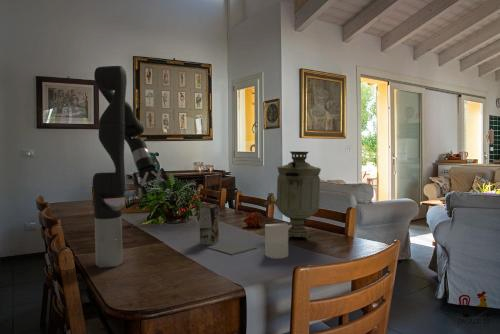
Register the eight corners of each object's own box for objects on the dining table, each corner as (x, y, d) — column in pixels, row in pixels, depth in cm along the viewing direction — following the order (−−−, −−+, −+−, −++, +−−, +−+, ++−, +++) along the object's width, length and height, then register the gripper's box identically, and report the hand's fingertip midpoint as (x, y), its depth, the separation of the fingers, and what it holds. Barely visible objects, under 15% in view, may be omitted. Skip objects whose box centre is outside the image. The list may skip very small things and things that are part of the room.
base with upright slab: (269, 259, 145) (269, 227, 144) (262, 253, 153) (262, 223, 153) (291, 257, 147) (291, 226, 146) (283, 251, 156) (283, 221, 155)
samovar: (281, 228, 200) (281, 151, 198) (330, 233, 187) (330, 151, 185) (252, 240, 174) (251, 151, 173) (306, 247, 161) (306, 151, 159)
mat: (256, 248, 161) (256, 247, 161) (231, 254, 151) (231, 253, 151) (231, 241, 172) (231, 241, 172) (206, 247, 162) (206, 246, 162)
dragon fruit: (266, 228, 208) (245, 233, 204) (260, 217, 214) (239, 222, 210) (268, 217, 202) (247, 222, 198) (261, 206, 208) (241, 211, 204)
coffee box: (213, 245, 167) (213, 208, 166) (199, 244, 168) (198, 207, 167) (219, 240, 176) (219, 204, 175) (205, 239, 177) (205, 204, 176)
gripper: (129, 159, 163) (141, 192, 159) (160, 153, 171) (173, 185, 166) (126, 167, 169) (137, 200, 164) (156, 161, 177) (168, 192, 172)
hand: (155, 192), depth 165 cm, fingers open, 8 cm apart
